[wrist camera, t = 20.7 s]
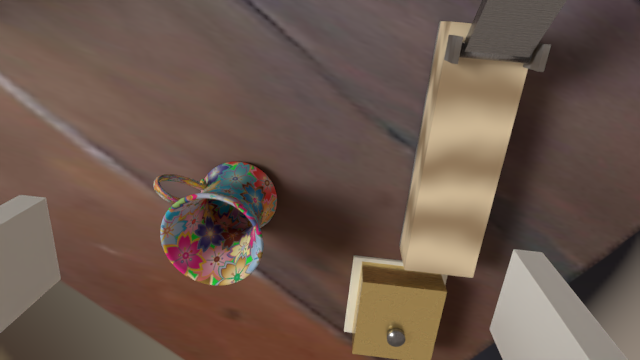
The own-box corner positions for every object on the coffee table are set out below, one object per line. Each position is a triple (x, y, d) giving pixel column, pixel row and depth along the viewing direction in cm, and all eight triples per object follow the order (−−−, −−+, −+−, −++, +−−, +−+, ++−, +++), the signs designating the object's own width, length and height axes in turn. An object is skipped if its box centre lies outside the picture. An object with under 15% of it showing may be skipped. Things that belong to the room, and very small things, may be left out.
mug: (299, 192, 46) (284, 240, 36) (249, 245, 49) (222, 303, 39) (212, 121, 43) (170, 152, 34) (165, 181, 46) (114, 226, 37)
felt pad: (353, 255, 48) (353, 256, 48) (448, 265, 48) (449, 267, 47) (343, 329, 52) (343, 331, 52) (431, 339, 52) (431, 342, 51)
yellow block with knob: (362, 261, 48) (362, 286, 43) (439, 270, 47) (448, 296, 43) (352, 329, 52) (352, 358, 47) (424, 337, 51) (431, 368, 47)
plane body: (439, 21, 38) (460, 22, 31) (515, 27, 38) (555, 30, 30) (399, 245, 47) (407, 287, 40) (461, 251, 47) (481, 296, 39)
